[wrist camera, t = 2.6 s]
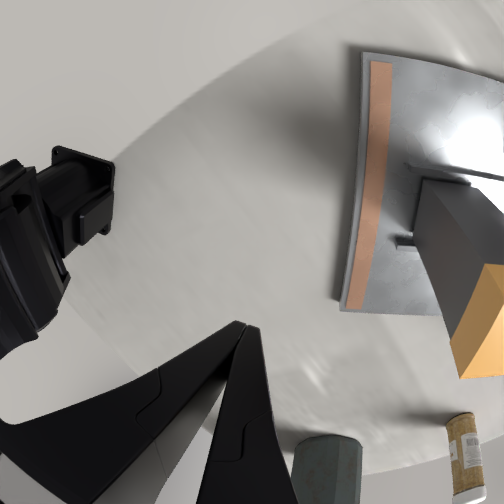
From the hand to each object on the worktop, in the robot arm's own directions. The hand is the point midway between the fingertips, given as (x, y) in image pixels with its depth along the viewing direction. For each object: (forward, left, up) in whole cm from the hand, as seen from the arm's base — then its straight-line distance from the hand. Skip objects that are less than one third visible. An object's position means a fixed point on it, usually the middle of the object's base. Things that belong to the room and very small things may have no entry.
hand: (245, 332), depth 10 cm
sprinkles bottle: (+35, -20, -12) cm, 42 cm away
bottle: (+21, -34, -12) cm, 41 cm away
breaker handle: (+10, +3, -11) cm, 15 cm away
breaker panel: (+13, +4, -12) cm, 18 cm away
